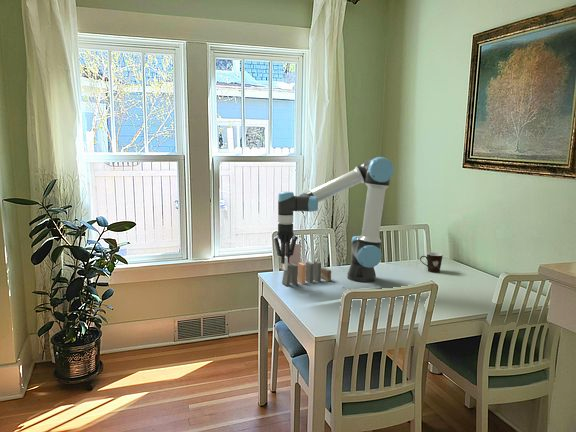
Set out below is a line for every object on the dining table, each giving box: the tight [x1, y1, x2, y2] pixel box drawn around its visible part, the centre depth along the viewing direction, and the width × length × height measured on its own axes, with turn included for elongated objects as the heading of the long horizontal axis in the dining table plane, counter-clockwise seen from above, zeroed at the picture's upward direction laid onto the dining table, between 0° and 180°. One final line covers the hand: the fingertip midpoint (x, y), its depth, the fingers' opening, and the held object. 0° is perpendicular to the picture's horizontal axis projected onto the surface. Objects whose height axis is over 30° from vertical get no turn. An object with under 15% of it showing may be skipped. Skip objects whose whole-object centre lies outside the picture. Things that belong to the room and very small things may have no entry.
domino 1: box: [281, 264, 293, 287], centre depth 218 cm, size 2×5×10 cm, turn 25°
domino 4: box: [312, 260, 322, 283], centre depth 226 cm, size 2×5×10 cm, turn 25°
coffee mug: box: [419, 252, 444, 274], centre depth 249 cm, size 12×9×10 cm
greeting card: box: [281, 243, 302, 271], centre depth 243 cm, size 11×7×15 cm, turn 113°
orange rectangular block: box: [297, 262, 306, 285], centre depth 222 cm, size 2×5×10 cm, turn 26°
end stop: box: [321, 266, 332, 283], centre depth 228 cm, size 2×7×6 cm, turn 25°
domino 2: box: [290, 263, 299, 286], centre depth 220 cm, size 2×5×10 cm, turn 26°
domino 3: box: [305, 261, 314, 284], centre depth 224 cm, size 2×5×10 cm, turn 25°
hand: (285, 269), depth 218 cm, fingers closed
